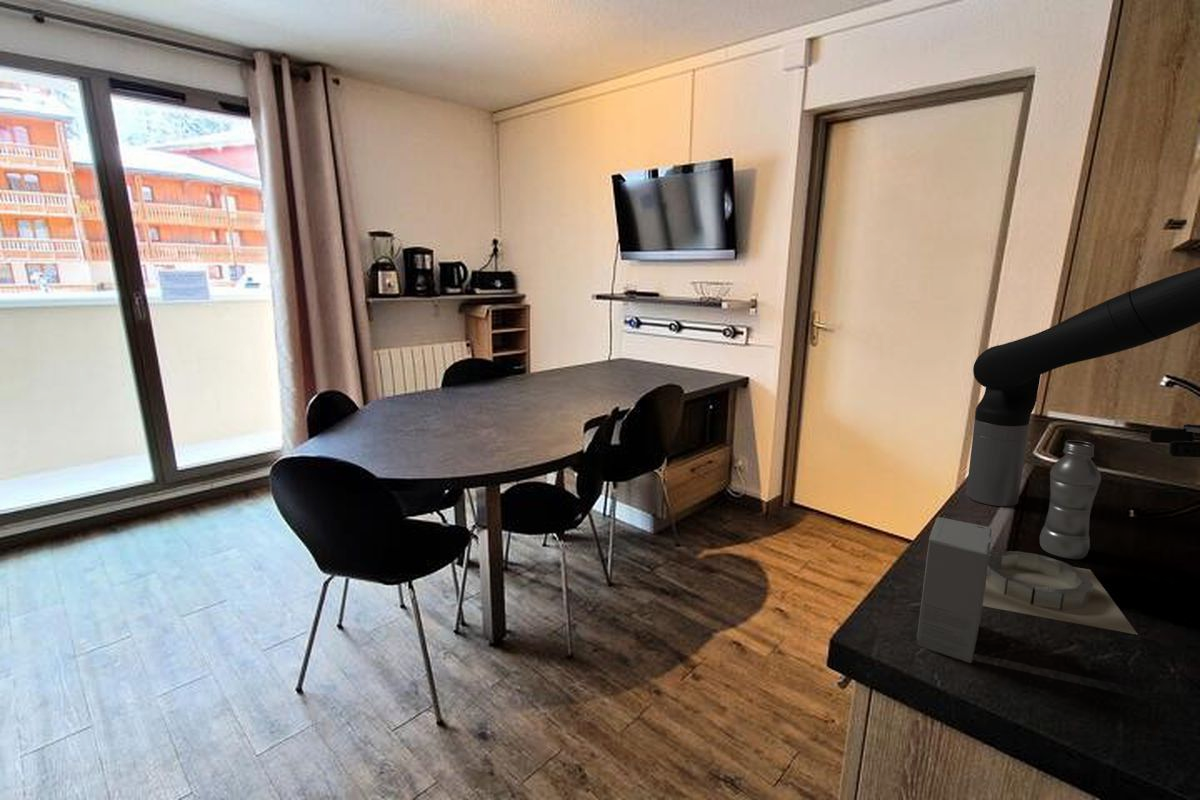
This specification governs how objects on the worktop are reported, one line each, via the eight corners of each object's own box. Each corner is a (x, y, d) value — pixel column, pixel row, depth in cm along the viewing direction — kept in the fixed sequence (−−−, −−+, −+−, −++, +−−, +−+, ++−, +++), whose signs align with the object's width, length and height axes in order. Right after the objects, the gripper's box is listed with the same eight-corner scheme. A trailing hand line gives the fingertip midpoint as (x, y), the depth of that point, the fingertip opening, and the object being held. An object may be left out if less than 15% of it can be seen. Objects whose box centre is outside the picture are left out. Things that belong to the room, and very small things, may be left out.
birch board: (956, 554, 96) (956, 549, 96) (1089, 575, 88) (1090, 569, 88) (973, 610, 80) (973, 604, 80) (1136, 641, 72) (1138, 634, 72)
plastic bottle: (1068, 547, 97) (1085, 437, 93) (1097, 566, 91) (1118, 449, 87) (1028, 546, 98) (1044, 437, 94) (1055, 565, 91) (1073, 449, 87)
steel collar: (979, 559, 92) (980, 545, 92) (1073, 574, 87) (1075, 559, 86) (993, 598, 81) (995, 582, 81) (1102, 617, 76) (1105, 601, 75)
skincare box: (924, 616, 79) (935, 514, 76) (980, 632, 75) (994, 526, 72) (914, 647, 73) (925, 537, 69) (975, 667, 69) (989, 551, 65)
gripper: (1292, 408, 83) (1144, 409, 91) (1356, 428, 70) (1179, 427, 79) (1289, 457, 84) (1143, 453, 92) (1351, 485, 71) (1176, 478, 80)
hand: (1159, 441), depth 85 cm, fingers open, 8 cm apart
